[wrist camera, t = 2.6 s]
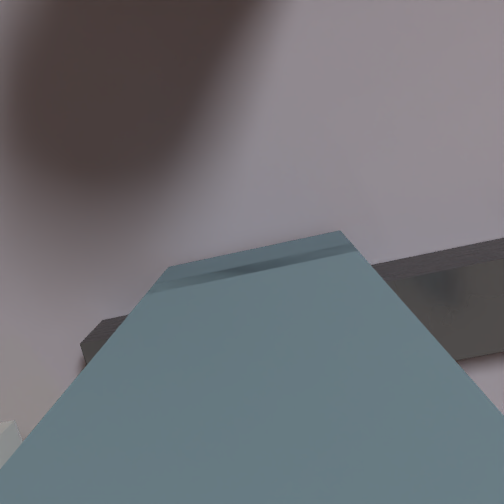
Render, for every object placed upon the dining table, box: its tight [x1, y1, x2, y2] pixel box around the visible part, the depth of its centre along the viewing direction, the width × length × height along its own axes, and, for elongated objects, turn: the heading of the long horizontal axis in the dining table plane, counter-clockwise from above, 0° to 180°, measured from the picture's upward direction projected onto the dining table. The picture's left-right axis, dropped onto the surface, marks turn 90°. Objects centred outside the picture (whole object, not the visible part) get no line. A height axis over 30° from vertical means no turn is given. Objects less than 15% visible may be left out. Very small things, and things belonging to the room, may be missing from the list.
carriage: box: [0, 231, 504, 504], centre depth 10 cm, size 6×6×12 cm
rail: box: [80, 238, 504, 364], centre depth 14 cm, size 24×3×2 cm, turn 103°
